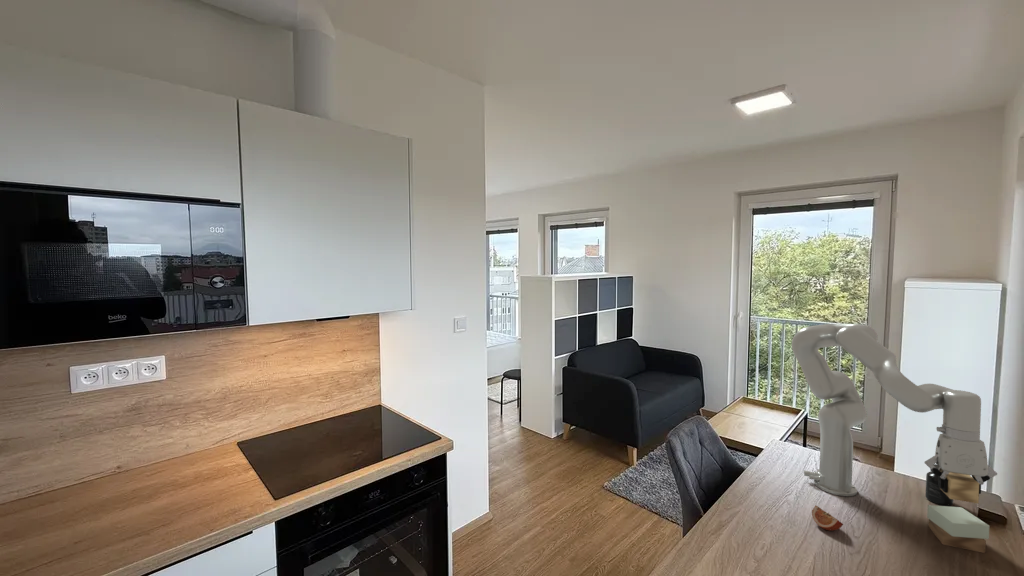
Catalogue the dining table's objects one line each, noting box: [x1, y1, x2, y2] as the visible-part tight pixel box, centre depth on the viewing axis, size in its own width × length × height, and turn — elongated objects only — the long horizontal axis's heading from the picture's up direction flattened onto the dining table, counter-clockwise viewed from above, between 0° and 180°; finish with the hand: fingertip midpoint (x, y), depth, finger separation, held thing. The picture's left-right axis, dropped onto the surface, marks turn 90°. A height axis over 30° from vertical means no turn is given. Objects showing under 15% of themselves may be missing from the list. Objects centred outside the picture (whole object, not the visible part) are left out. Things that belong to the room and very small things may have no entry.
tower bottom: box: [928, 518, 987, 554], centre depth 126 cm, size 9×9×4 cm
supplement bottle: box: [924, 463, 954, 507], centre depth 145 cm, size 7×7×12 cm
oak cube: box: [940, 472, 980, 504], centre depth 125 cm, size 6×6×6 cm
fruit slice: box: [811, 505, 844, 532], centre depth 132 cm, size 8×7×5 cm
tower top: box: [926, 504, 990, 540], centre depth 125 cm, size 9×9×4 cm
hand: (958, 492), depth 125 cm, fingers closed on oak cube, 6 cm apart
